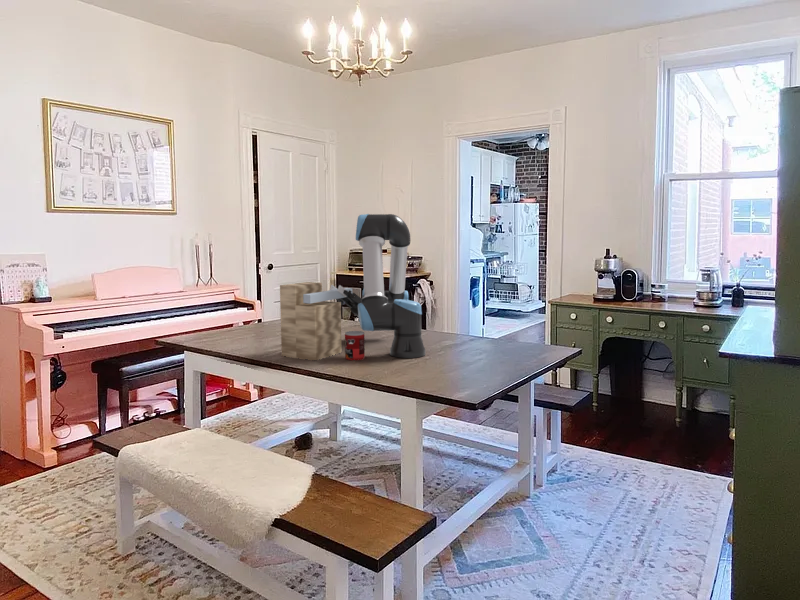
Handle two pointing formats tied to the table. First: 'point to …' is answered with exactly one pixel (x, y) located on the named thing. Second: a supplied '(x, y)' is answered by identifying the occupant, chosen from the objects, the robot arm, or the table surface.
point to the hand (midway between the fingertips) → (334, 287)
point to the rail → (323, 296)
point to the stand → (308, 323)
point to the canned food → (354, 345)
